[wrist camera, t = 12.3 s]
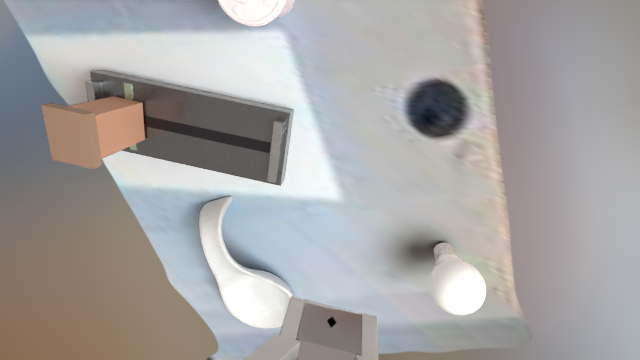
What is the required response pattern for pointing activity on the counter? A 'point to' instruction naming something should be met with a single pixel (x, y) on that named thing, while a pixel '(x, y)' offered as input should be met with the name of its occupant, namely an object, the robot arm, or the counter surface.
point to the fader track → (203, 127)
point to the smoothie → (256, 10)
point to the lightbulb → (455, 283)
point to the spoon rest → (241, 275)
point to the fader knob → (92, 129)
